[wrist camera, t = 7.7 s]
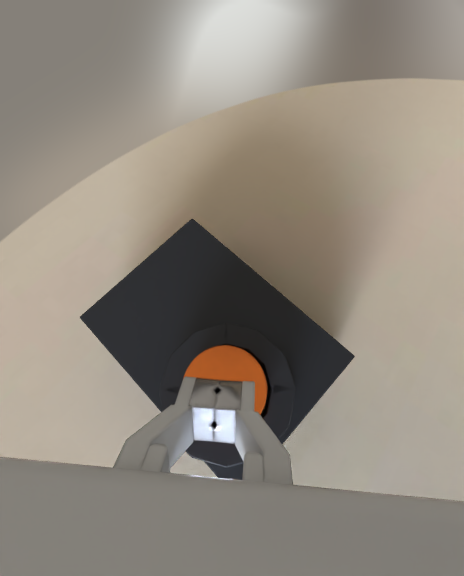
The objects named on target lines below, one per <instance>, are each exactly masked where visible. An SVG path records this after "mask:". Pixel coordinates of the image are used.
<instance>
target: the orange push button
mask: <svg viewBox="0 0 464 576" xmlns="http://www.w3.org/2000/svg"><path fill="white" fill-rule="evenodd" d="M185 376H186V377H196V378H197V377H198V378H209V379H219V380H234V381H242V384H243V381H254V382H255V403H254V411H255V412H258V413H259V414H261V413H262V411H263V409H264V406H265V403H266V399H267V381H266V377H265V374H264V371H263V369H262V367H261V366H260V364H259V363H258V361H257V360H256V359H255V358H254V357H253V356H252V355H251V354H250V353H248V352H247V351H245V350H243V349H241V348H238V347H235V346H230V345H220V346H215V347H212V348H209V349H207V350H205V351H203V352H202V353H200V354H199V355H198V356H197V357H195V358H194V360H193V361H192V362H191V363H190V365H189V366H188V368H187V370H186V372H185V375H184V377H185ZM183 379H184V378H183Z"/></svg>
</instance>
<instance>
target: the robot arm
mask: <svg viewBox="0 0 464 576" xmlns="http://www.w3.org/2000/svg"><path fill="white" fill-rule="evenodd" d="M254 403H255V382H254V381H243V384H242V381H234V380H219V379H209V378H198V377H197V378H196V377H186V376H185V377H184V379H183V381H182V384H181V387H180V390H179V393H178V396H177V399H176V402H175V405H170V406H169V407H168V408H166V409H165V410H164V411H162V412H161V413H160V414H159V415H157V416H156V417H155V418H153V419H152V420H151V421H150V422H148V423H147V424H146V425H144V426H143V427H142V428H141V429H139V430H138V431H137V432H136V433H134V434H133V435H132V436H130V437H129V438H128V439H127V440H126V441H125V443H124V445H123V447H122V450H121V452H120V454H119V456H118V458H117V460H116V462H115V465H114V467H113V468H111V467H101V466H91V465H80V464H70V463H59V462H49V461H39V460H28V459H18V458H7V457H0V576H464V501H454V500H444V499H433V498H423V497H413V496H402V495H392V494H381V493H371V492H361V491H350V490H340V489H329V488H319V487H309V486H298V485H293V482H292V471H291V461H290V454H289V453H288V452H287V450H286V449H285V448H284V446H283V445H282V444H281V442H280V441H279V440H278V438H277V437H276V436H275V434H274V433H273V432H272V430H271V429H270V427H269V426H268V425H267V423H266V422H265V421H264V419H263V418H262V417H261V415H260V414H259V413H258V412H255V411H254ZM193 440H196V441H215V442H222V443H231V444H235V446H236V448H237V450H238V452H239V454H240V456H241V458H242V460H243V462H244V464H243V478H242V480H236V479H226V478H216V477H205V476H195V475H184V474H174V473H170V468H171V467H172V466H173V465H174V463H175V462H176V461H177V460H178V459H179V458H180V457H181V455H182V454H183V453H184V452H185V451H186V450H187V448H188V447H189V446H190V445H191V444H192V443H193Z"/></svg>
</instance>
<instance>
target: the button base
mask: <svg viewBox="0 0 464 576" xmlns="http://www.w3.org/2000/svg"><path fill="white" fill-rule="evenodd" d="M80 318H81V320H82V321H83V322H84V323H85V324H86V325H87V327H88V328H89V329H90V330H91V331H92V332H93V333H94V335H95V336H96V337H97V338H98V339H99V340H100V342H101V343H102V344H103V345H104V346H105V347H106V349H107V350H108V351H109V352H110V353H111V354H112V355H113V357H114V358H115V359H116V360H117V361H118V362H119V364H120V365H121V366H122V367H123V368H124V369H125V370H126V372H127V373H128V374H129V375H130V376H131V377H132V379H133V380H134V381H135V382H136V383H137V384H138V386H139V387H140V388H141V389H142V390H143V391H144V392H145V394H146V395H147V396H148V397H149V398H150V399H151V401H152V402H153V403H154V404H155V405H156V406H157V408H158V409H159V410H160V411H161V412H162V411H164V410H165V409H166V408H168V407H169V406H170V405H175V402H176V399H177V396H178V393H179V390H180V387H181V384H182V381H183V378H184V375H185V372H186V370H187V368H188V366H189V365H190V363H191V362H192V361H193V360H194V358H195V357H197V356H198V355H199V354H200V353H202V352H203V351H205V350H207V349H209V348H212V347H215V346H220V345H230V346H235V347H238V348H241V349H243V350H245V351H247V352H248V353H250V354H251V355H252V356H253V357H254V358H255V359H256V360H257V361H258V363H259V364H260V366H261V367H262V369H263V371H264V374H265V377H266V381H267V399H266V403H265V406H264V409H263V411H262V413H261V414H260V415H261V417H262V418H263V419H264V421H265V422H266V423H267V425H268V426H269V427H270V429H271V430H272V432H273V433H274V434H275V436H276V437H277V438H278V440H279V441H280V442H281V444H283V443H284V442H285V440H286V439H287V438H288V437H289V436H290V434H291V433H292V432H293V431H294V429H295V428H296V427H297V426H298V425H299V423H300V422H301V421H302V420H303V419H304V417H305V416H306V415H307V414H308V413H309V411H310V410H311V409H312V408H313V407H314V405H315V404H316V403H317V402H318V400H319V399H320V398H321V397H322V396H323V394H324V393H325V392H326V391H327V390H328V388H329V387H330V386H331V385H332V384H333V382H334V381H335V380H336V379H337V377H338V376H339V375H340V374H341V373H342V371H343V370H344V369H345V368H346V367H347V365H348V364H349V363H350V362H351V361H352V359H353V358H354V357H355V356H354V355H353V354H352V353H351V352H349V351H348V350H347V349H346V348H345V347H343V346H342V345H341V344H340V343H339V342H338V341H336V340H335V339H334V338H333V337H332V336H330V335H329V334H328V333H327V332H326V331H325V330H323V329H322V328H321V327H320V326H319V325H317V324H316V323H315V322H314V321H313V320H312V319H310V318H309V317H308V316H307V315H306V314H305V313H303V312H302V311H301V310H300V309H299V308H297V307H296V306H295V305H294V304H293V303H292V302H290V301H289V300H288V299H287V298H286V297H284V296H283V295H282V294H281V293H280V292H279V291H277V290H276V289H275V288H274V287H273V286H271V285H270V284H269V283H268V282H267V281H266V280H264V279H263V278H262V277H261V276H260V275H259V274H257V273H256V272H255V271H254V270H253V269H251V268H250V267H249V266H248V265H247V264H246V263H244V262H243V261H242V260H241V259H240V258H238V257H237V256H236V255H235V254H234V253H233V252H231V251H230V250H229V249H228V248H227V247H225V246H224V245H223V244H222V243H221V242H220V241H218V240H217V239H216V238H215V237H214V236H213V235H211V234H210V233H209V232H208V231H207V230H205V229H204V228H203V227H202V226H201V225H200V224H198V223H197V222H196V221H195V220H194V219H191V220H190V221H189V222H187V223H186V224H185V225H184V226H183V227H182V228H181V229H180V230H178V231H177V232H176V233H175V234H174V235H173V236H172V237H170V238H169V239H168V240H167V241H166V242H165V243H164V244H162V245H161V246H160V247H159V248H158V249H157V250H156V251H154V252H153V253H152V254H151V255H150V256H149V257H148V258H146V259H145V260H144V261H143V262H142V263H141V264H140V265H138V266H137V267H136V268H135V269H134V270H133V271H132V272H131V273H129V274H128V275H127V276H126V277H125V278H124V279H123V280H121V281H120V282H119V283H118V284H117V285H116V286H115V287H113V288H112V289H111V290H110V291H109V292H108V293H107V294H105V295H104V296H103V297H102V298H101V299H100V300H99V301H97V302H96V303H95V304H94V305H93V306H92V307H91V308H89V309H88V310H87V311H86V312H85V313H84V314H83V315H82V316H80ZM186 452H187V453H188V454H189V456H191V457H192V458H195V459H199V460H202V461H204V462H205V463H206V464H207V465H208V466H209V468H210V469H211V470H212V471H213V472H214V473H215V475H216V476H217V477H218V478H226V479H236V480H242V478H243V464H244V462H243V460H242V458H241V456H240V454H239V452H238V450H237V448H236V446H235V444H231V443H222V442H215V441H196V440H193V443H192V444H191V445H190V446H189V447H188V448H187V450H186Z"/></svg>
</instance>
